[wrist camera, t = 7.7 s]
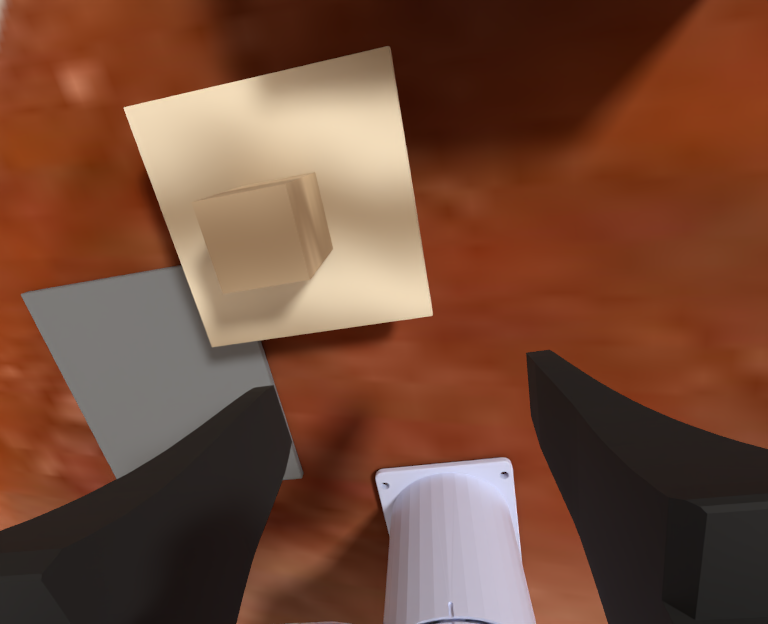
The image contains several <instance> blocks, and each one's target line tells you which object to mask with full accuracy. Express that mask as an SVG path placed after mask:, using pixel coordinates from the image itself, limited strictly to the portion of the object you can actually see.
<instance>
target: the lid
mask: <svg viewBox="0 0 768 624" xmlns="http://www.w3.org/2000/svg"><path fill="white" fill-rule="evenodd" d="M124 110H125V113H126V116H127V119H128V121H129V124H130V127H131V129H132V132H133V135H134V137H135V140H136V143H137V146H138V148H139V151H140V154H141V156H142V159H143V162H144V165H145V167H146V170H147V173H148V175H149V178H150V181H151V183H152V186H153V189H154V192H155V194H156V197H157V200H158V202H159V205H160V208H161V211H162V213H163V216H164V219H165V221H166V224H167V227H168V230H169V232H170V235H171V238H172V240H173V243H174V246H175V248H176V251H177V254H178V257H179V259H180V262H181V265H182V267H183V270H184V273H185V276H186V278H187V281H188V284H189V286H190V289H191V292H192V294H193V297H194V300H195V303H196V305H197V308H198V311H199V313H200V316H201V319H202V322H203V324H204V327H205V330H206V332H207V335H208V338H209V340H210V343H211V346H212V347H218V346H225V345H232V344H239V343H246V342H253V341H260V340H266V339H273V338H280V337H287V336H294V335H301V334H308V333H315V332H322V331H329V330H336V329H343V328H350V327H357V326H364V325H371V324H378V323H385V322H392V321H399V320H406V319H413V318H420V317H427V316H433V313H432V304H431V298H430V292H429V286H428V279H427V273H426V267H425V260H424V254H423V248H422V242H421V235H420V229H419V223H418V217H417V210H416V204H415V198H414V192H413V185H412V179H411V173H410V167H409V160H408V154H407V148H406V141H405V135H404V129H403V123H402V116H401V110H400V104H399V98H398V91H397V85H396V79H395V73H394V66H393V60H392V54H391V49H390V46H386V47H382V48H377V49H373V50H369V51H365V52H360V53H356V54H352V55H347V56H343V57H339V58H334V59H330V60H326V61H322V62H317V63H313V64H309V65H304V66H300V67H296V68H291V69H287V70H283V71H279V72H274V73H270V74H266V75H261V76H257V77H253V78H248V79H244V80H240V81H236V82H231V83H227V84H223V85H218V86H214V87H210V88H206V89H201V90H197V91H193V92H188V93H184V94H180V95H175V96H171V97H167V98H163V99H158V100H154V101H150V102H145V103H141V104H137V105H132V106H128V107H124Z"/></svg>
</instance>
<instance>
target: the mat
mask: <svg viewBox="0 0 768 624" xmlns="http://www.w3.org/2000/svg"><path fill="white" fill-rule="evenodd" d="M21 296H22V298H23V300H24V302H25V304H26V306H27V308H28V310H29V312H30V314H31V315H32V317H33V319H34V321H35V323H36V325H37V327H38V329H39V331H40V333H41V335H42V337H43V338H44V340H45V342H46V344H47V346H48V348H49V350H50V352H51V354H52V356H53V358H54V360H55V361H56V363H57V365H58V367H59V369H60V371H61V373H62V375H63V377H64V379H65V381H66V383H67V385H68V386H69V388H70V390H71V392H72V394H73V396H74V398H75V400H76V402H77V404H78V406H79V408H80V409H81V411H82V413H83V415H84V417H85V419H86V421H87V423H88V425H89V427H90V429H91V431H92V433H93V434H94V436H95V438H96V440H97V442H98V444H99V446H100V448H101V450H102V452H103V454H104V456H105V457H106V459H107V461H108V463H109V465H110V467H111V469H112V471H113V473H114V475H115V477H116V479H118V478H120V477H122V476H124V475H126V474H128V473H129V472H131V471H133V470H135V469H136V468H138V467H140V466H141V465H143V464H145V463H146V462H148V461H150V460H151V459H153V458H155V457H156V456H158V455H159V454H161V453H162V452H164V451H166V450H167V449H169V448H170V447H171V446H173V445H174V444H176V443H177V442H179V441H180V440H181V439H183V438H184V437H186V436H187V435H189V434H190V433H191V432H193V431H194V430H196V429H197V428H198V427H200V426H201V425H203V424H204V423H205V422H206V421H208V420H209V419H210V418H212V417H213V416H214V415H216V414H217V413H218V412H220V411H221V410H222V409H224V408H225V407H226V406H228V405H229V404H230V403H232V402H233V401H234V400H236V399H237V398H239V397H240V396H241V395H243V394H244V393H246V392H247V391H249V390H251V389H252V388H254V387H262V386H270V385H274V388H275V391H276V394H277V397H278V400H279V403H280V406H281V409H282V412H283V415H284V411H283V408H282V405H281V402H280V399H279V396H278V393H277V390H276V387H275V384H274V380H273V377H272V374H271V371H270V368H269V365H268V362H267V359H266V356H265V352H264V349H263V346H262V343H261V340H260V341H253V342H246V343H239V344H232V345H225V346H218V347H212V346H211V343H210V340H209V338H208V335H207V332H206V330H205V327H204V324H203V322H202V319H201V316H200V313H199V311H198V308H197V305H196V303H195V300H194V297H193V294H192V292H191V289H190V286H189V284H188V281H187V278H186V276H185V273H184V270H183V267H182V265H180V266H174V267H168V268H162V269H156V270H151V271H145V272H139V273H133V274H128V275H122V276H116V277H110V278H104V279H99V280H93V281H87V282H81V283H76V284H70V285H64V286H58V287H52V288H47V289H41V290H35V291H29V292H25V293H23V294H21ZM284 418H285V415H284ZM285 421H286V418H285ZM286 425H287V428H288V431H289V434H290V437H291V440H292V444H291V449H290V454H289V459H288V463H287V467H286V471H285V475H284V477H283V480H289V479H300V478H302V477H303V470H302V467H301V464H300V461H299V458H298V455H297V452H296V449H295V446H294V443H293V439H292V436H291V433H290V430H289V427H288V424H287V421H286Z"/></svg>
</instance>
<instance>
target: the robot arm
mask: <svg viewBox="0 0 768 624" xmlns="http://www.w3.org/2000/svg"><path fill="white" fill-rule="evenodd" d="M526 356H527V369H528V382H529V395H530V408H531V417H532V421H533V424H534V427H535V431H536V434H537V437H538V441H539V444H540V447H541V450H542V452H543V454H544V456H545V459H546V461H547V463H548V465H549V468H550V470H551V472H552V474H553V477H554V479H555V481H556V483H557V485H558V488H559V490H560V492H561V494H562V497H563V499H564V501H565V503H566V505H567V508H568V510H569V512H570V514H571V516H572V519H573V521H574V523H575V526H576V528H577V531H578V533H579V536H580V539H581V542H582V545H583V548H584V550H585V553H586V556H587V559H588V562H589V565H590V568H591V571H592V574H593V577H594V580H595V584H596V587H597V590H598V593H599V596H600V599H601V602H602V605H603V608H604V612H605V615H606V618H607V621H608V624H768V449H765V448H761V447H757V446H754V445H750V444H746V443H742V442H739V441H736V440H732V439H729V438H726V437H723V436H719V435H716V434H713V433H711V432H708V431H705V430H702V429H699V428H696V427H694V426H691V425H688V424H685V423H683V422H680V421H677V420H675V419H672V418H670V417H668V416H665V415H663V414H661V413H659V412H656V411H654V410H652V409H649V408H647V407H645V406H643V405H641V404H639V403H637V402H635V401H633V400H631V399H629V398H627V397H625V396H623V395H621V394H619V393H618V392H616V391H614V390H612V389H610V388H609V387H607V386H605V385H603V384H602V383H600V382H598V381H597V380H595V379H593V378H592V377H590V376H589V375H587V374H586V373H584V372H582V371H581V370H579V369H578V368H576V367H575V366H573V365H572V364H570V363H569V362H567V361H566V360H564V359H563V358H561V357H560V356H559V355H557V354H556V353H554V352H552V351H551V350H545V351H537V352H529V353H526ZM291 444H292V440H291V437H290V434H289V431H288V428H287V425H286V421H285V418H284V415H283V412H282V409H281V406H280V403H279V400H278V397H277V394H276V391H275V388H274V385H270V386H262V387H254V388H252V389H251V390H249V391H247V392H246V393H244V394H243V395H241V396H240V397H239V398H237V399H236V400H234V401H233V402H232V403H230V404H229V405H228V406H226V407H225V408H224V409H222V410H221V411H220V412H218V413H217V414H216V415H214V416H213V417H212V418H210V419H209V420H208V421H206V422H205V423H204V424H203V425H201V426H200V427H198V428H197V429H196V430H194V431H193V432H191V433H190V434H189V435H187V436H186V437H184V438H183V439H181V440H180V441H179V442H177V443H176V444H174V445H173V446H171V447H170V448H169V449H167V450H166V451H164V452H162V453H161V454H159V455H158V456H156V457H155V458H153V459H151V460H150V461H148V462H146V463H145V464H143V465H141V466H140V467H138V468H136V469H135V470H133V471H131V472H129V473H128V474H126V475H124V476H122V477H120V478H118V479H116V480H114V481H112V482H111V483H109V484H107V485H105V486H103V487H101V488H99V489H97V490H95V491H93V492H91V493H89V494H87V495H85V496H83V497H81V498H79V499H77V500H75V501H72V502H70V503H68V504H66V505H64V506H61V507H59V508H57V509H54V510H52V511H50V512H48V513H45V514H43V515H41V516H38V517H36V518H33V519H31V520H28V521H26V522H23V523H20V524H18V525H15V526H12V527H10V528H7V529H4V530H2V531H0V624H236V623H237V618H238V614H239V610H240V606H241V602H242V598H243V594H244V590H245V587H246V583H247V579H248V575H249V572H250V568H251V564H252V561H253V558H254V555H255V552H256V549H257V546H258V543H259V540H260V538H261V535H262V533H263V530H264V527H265V525H266V522H267V520H268V517H269V514H270V512H271V509H272V507H273V504H274V501H275V499H276V496H277V494H278V491H279V488H280V486H281V483H282V480H283V477H284V475H285V471H286V467H287V463H288V459H289V454H290V449H291ZM502 472H507V473H505V474H501V473H502ZM375 480H376V484H377V488H378V492H379V496H380V500H381V504H382V508H383V512H384V517H385V521H386V525H387V529H388V533H389V537H390V541H389V554H388V568H387V581H386V594H385V608H384V621H383V624H536V621H535V617H534V612H533V608H532V604H531V600H530V595H529V591H528V587H527V582H526V578H525V574H524V570H523V565H522V557H521V547H520V537H519V528H518V518H517V508H516V498H515V488H514V479H513V469H512V464H511V461H510V460H509V459H507V458H503V457H501V458H491V459H480V460H470V461H459V462H449V463H438V464H428V465H418V466H407V467H397V468H386V469H380V470H378V471H377V472H376V476H375ZM383 483H388V484H387V485H385V484H383ZM287 624H350V623H342V622H334V621H330V622H308V623H287Z"/></svg>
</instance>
